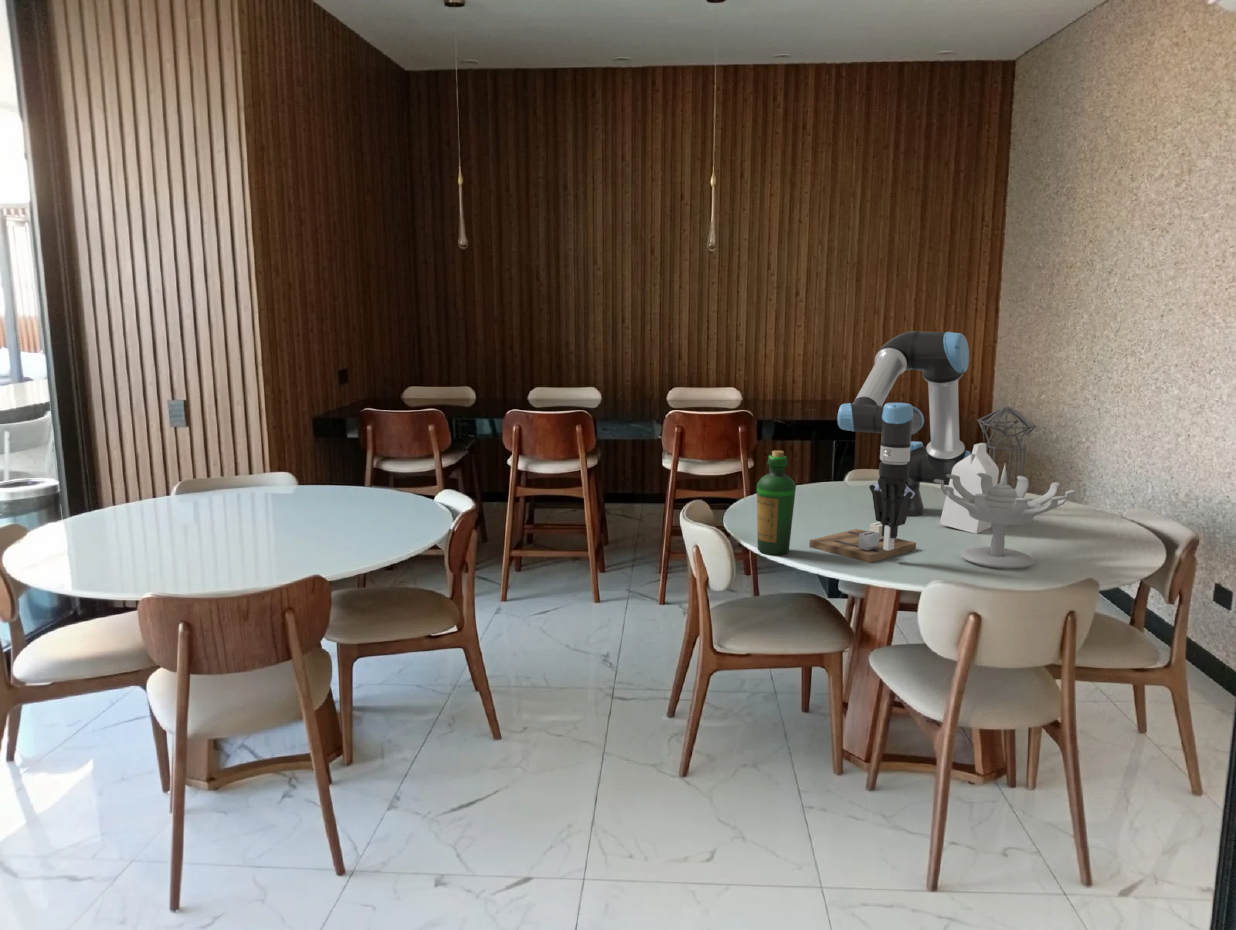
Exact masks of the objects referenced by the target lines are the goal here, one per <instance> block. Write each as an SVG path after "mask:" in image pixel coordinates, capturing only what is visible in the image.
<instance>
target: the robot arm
mask: <svg viewBox="0 0 1236 930" xmlns="http://www.w3.org/2000/svg"><path fill="white" fill-rule="evenodd" d="M969 356H970V349H969V344H968V340H967V338H966V336H965V335H964V334H963V333H959V332H952V331H945V332H944V331H943V332H942V331H916V330H914V331H913V330H912V331H906V332H903V333H900V334H897V335H895V337H893V338H891V339H889V340H888V341H886V343H884V344H883V345H882V346H881V347H880V348H879V350H878V351H877V353H876V355H875V357H874V365H873V367H872V369H871V370H870V372H869V375H868V376H867V378H866V380H865V381H864V383H863V384H862V387H861V388H860V390H859V392H858V394H857V396H856V397H855V399H854V400H853V402H852V403H851V402H849V403H842V404H841V405H840V406H839V409H838V413H837V425H838V427H839V429H841V430H843V431H849V432H850V431H851V432H853V433H855V432H860V433H874V434H881V436H880V437H881V440H880V450H879V453H880V454H879V459H880V462H879V467H878V468H879V469H878V475H879V478H878V480H877V482H876V483H874V484H869V490H870V492H871V494H872V502H873V508H874V509H873V510H874V516H875V521H877V522H881V523H882V536H884V544H883V550H887V551H888V550H892V549H894V538H898V528H899V526H903V525H905V524H906V522H907V518H908V516H920V515H922V514H924V503H923V498H922V495H921V491H920V485H921V484H920V483H926V484H933V485H939V484H938V483H936V482H934V481H933V480H935V479H939V480H943V481H944V486H947V487H948V486H949V481H950V478H948V477H946V475H948V474H951V473H952V469H953V467H954V465H955V464H957V463H958V462H960V461H961V460H963V459H964V458H966V457H968V456H969V455H971V454H972V452H971V451H970V450H966V447H965V446H966V445H965V444H964V442H963V441H961V440H960V412H959V411H960V408H959V407H960V406H959V405H960V404H959V380H960V379H961V378H962V376H963V375H964V373H966V372H967V370H968V368H969V363H970V357H969ZM907 370H908V371H910V370H912V371H921V372H922V374H921V375H922V378H923V379H924V380H925V381H926V382H927V387H928V388H927V389H928V407H929V427H930V430H929V432H930V441H929V442H928V444H927V445H926V446H924V444H923V442H922V441H912V435H915V434H916V433H918V432H919V431H920V430H921V429H922V428H923V426H924V423H925V418H924V415H923V412H922V411H921V410H920V409H919V408H917V407H915V406H913V405H912V404H911V403H908V402H907V403H905V402H888V403H887V402H886V403H885V401H886V399H887V397H888V395H889V393H890V392H891V390H892V388H893V386H894V385H895V382H896V380H897V379H898V377H899V376H900V375H902V374H903V373H904V372H905V371H907ZM884 403H885V404H884Z"/></svg>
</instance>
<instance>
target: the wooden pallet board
mask: <svg viewBox="0 0 1236 930" xmlns="http://www.w3.org/2000/svg"><path fill="white" fill-rule="evenodd" d="M865 532H869V531H868V530H862V529H858V528H854V529H850V530H845V531H841V532H837V533H834V534H830V535H829V534H828V535H825V536H821V537H815V538H813V539H809V545H808V546H809V548H811V549H816V550H819V551H823V552H827V553H830V554H835V555H837V556H838V555H839V556H842V557H847V558H850V559H855V560H857V561H861V562H865V563H874V562H878V561H881V560H884V559H888V558H891V557H894V556H898V555H901V554H904V553H905V554H906V553H910V552H912V551H915V550H917V542H914V541H910V540H906V539H901V538H898V537H897V538H894V549H892V550H888V551H887V550H883V544H884V539H881V540H879V548H875V549H872V550H864V549H860V548H859V534H861V533H865Z"/></svg>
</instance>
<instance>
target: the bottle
mask: <svg viewBox="0 0 1236 930" xmlns="http://www.w3.org/2000/svg"><path fill="white" fill-rule="evenodd" d="M784 454H785V452H784V451H783V450H772V451H771V454H769V455H768V459H767V463H766V464H767V465H768V468H769V469H768V470H769V473H766V474H764V475H763V476H762V477H760V479H759V480H758V482H757V484H756V517H757V518H756V522H757V524H756V526H757V533H756V534H757V536H756V537H757V550H758V551H759V552H761V553H762V554H765V555H770V556H771V555H772V556H780V555H785V554H787V553H789V551H790V545H791V544H790V543H791V535H792V524H793V517H794V508H795V498H796V490H797V485H796V483H795V481H794V480H793V478H792V477H790V476H789V475H787V474H785V472H786V471H785V470H786V466H788V465H789V464H788V461H787V460H788V459H787V458H788V457H787V456H786V455H784Z"/></svg>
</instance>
